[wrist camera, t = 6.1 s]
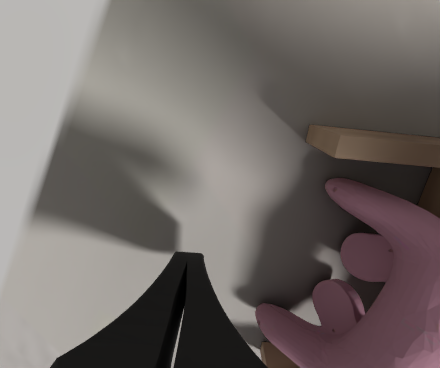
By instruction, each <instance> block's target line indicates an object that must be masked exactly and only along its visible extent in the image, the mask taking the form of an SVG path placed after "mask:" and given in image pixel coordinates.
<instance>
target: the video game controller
mask: <svg viewBox="0 0 440 368" xmlns="http://www.w3.org/2000/svg"><path fill="white" fill-rule="evenodd" d="M325 189H326V191H327V193H328V195H329V196H330V197H331V198H332V199H333V200H334V201H335V202H336V203H337V204H338V205H339V206H340V207H341V208H342V209H344V210H346V211H347V212H349V213H350V214H352V215H353V216H355V217H357V218H358V219H360V220H361V221H363V222H364V223H366V224H368V225H369V226H371V227H372V228H373V229H375V230H376V231H377V232H378V233H379V234H372V233H355V234H351V235H350V236H348V237H347V238H346V239H345V240H344V242H343V244H342V247H341V254H340V255H341V260H342V263H343V265H344V266H345V268H346V269H347V270H348V271H349V272H350V273H351V274H352V275H353V276H355V277H356V278H359V279H362V280H364V281H369V282H386V283H385V285H384V287H383V288H382V290H381V292H380V294H379V295H378V297H377V298H376V300H375V301H374V303H373V304H372V306H371V307H370V309H369V310H368V312H367V313H366V314H365V311H364V307H363V303H362V301H361V299H360V297H359V295H358V293H357V292H356V291H355V290H354V288H353V287H352V286H351V285H349V284H348V283H346V282H344V281H342V280H339V279H332V280H324V281H322V282H320V283H318V284H317V285H316V286H315V288H314V290H313V294H312V298H313V304H314V307H315V310H316V312H317V314H318V316H319V319H320V322H321V325H322V326H316V325H313V324H311V323H309V322H307V321H305V320H303V319H301V318H300V317H298V316H296V315H295V314H293V313H291V312H289V311H288V310H285V309H283V308H281V307H278V306H276V305H273V304H266V303H262V304H260V305H259V306H258V307H257V308H256V311H255V316H256V320H257V323H258V325H259V327H260V329H261V331H262V332H263V334H264V335H265V336H266V338H267V339H268V340H269V341H270V342H271V343H272V344H273V345H275V346H276V347H277V348H278V349H279V350H280V351H281V352H282V353H284V354H285V355H286V356H287V357H288V358H290V359H291V360H292V361H293V362H294V363H296V364H297V365H298V366H299V367H300V368H440V218H438V217H437V216H435V215H433V214H432V213H430V212H428V211H427V210H425V209H423V208H421V207H419V206H417V205H415V204H413V203H411V202H409V201H407V200H404V199H402V198H399V197H397V196H394V195H392V194H389V193H387V192H384V191H381V190H379V189H376V188H373V187H371V186H368V185H365V184H363V183H360V182H357V181H354V180H350V179H346V178H334V179H330V180H328V181H327V182H326V183H325Z"/></svg>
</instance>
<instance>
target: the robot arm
mask: <svg viewBox="0 0 440 368" xmlns="http://www.w3.org/2000/svg"><path fill="white" fill-rule="evenodd" d="M183 309H184V314H183ZM182 314H183V320H182V326H181V331H180V337H179V342H178V348H177V353H176V358H175V363H174V368H268V367H267V366H266V365H265V364H264V363H263V362H262V361H261V360H260V359H259V357H258V356H257V355H256V354H255V353H254V352H253V351H252V349H251V348H250V347H249V346H248V345H247V343H246V342H245V341H244V340H243V338H242V337H241V335H240V334H239V333H238V331H237V330H236V329H235V327H234V326H233V324H232V323H231V321H230V320H229V318H228V317H227V315H226V313H225V312H224V310H223V308H222V306H221V304H220V303H219V301H218V299H217V296H216V294H215V292H214V290H213V288H212V285H211V282H210V280H209V277H208V274H207V271H206V267H205V263H204V256H203V254H202V253H189V252H175V253H174V255H173V257H172V258H171V260H170V261H169V263H168V264H167V266H166V267H165V269H164V270H163V271H162V273H161V274H160V275H159V276H158V278H157V279H156V280H155V281H154V283H153V284H152V285H151V286H150V287H149V288H148V289H147V290H146V292H145V293H144V294H143V295H142V296H141V297H140V298H139V299H138V300H137V301H136V302H135V303H134V304H133V305H132V306H130V307H129V308H128V309H127V310H126V311H125V312H124V313H122V314H121V315H120V316H119V317H118V318H117V319H115V320H114V321H113V322H112V323H110V324H109V325H108V326H106V327H105V328H103V329H102V330H101V331H99V332H98V333H97V334H95V335H94V336H92V337H91V338H89V339H88V340H87V341H85V342H83V343H82V344H80V345H79V346H77V347H75V348H74V349H72V350H70V351H69V352H67V353H65V354H64V355H62V356H60V357H58V358H57V359H56V360H55V362H54V363H53V364H52V366H51V367H50V368H171V362H172V357H173V352H174V348H175V344H176V339H177V335H178V331H179V327H180V322H181V318H182Z"/></svg>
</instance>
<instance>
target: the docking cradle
mask: <svg viewBox="0 0 440 368" xmlns="http://www.w3.org/2000/svg"><path fill="white" fill-rule="evenodd" d="M306 142H307V143H308V144H310V145H312V146H314V147H316V148H318V149H319V150H321V151H323V152H325V153H327V154H328V155H330V156H332V157H334V158H341V159H352V160H362V161H373V162H384V163H394V164H405V165H415V166H426V167H433V168H432V171H431V173H430V175H429V178H428V180H427V183H426V185H425V188H424V190H423V193H422V195H421V197H420V200H419V202H418V205H417V206H419V207H421V208H423V209H425V210H427V211H428V212H430V213H432V214H433V215H435V216H437V217H438V218H440V138H437V137H427V136H417V135H408V134H398V133H388V132H378V131H368V130H358V129H348V128H338V127H328V126H318V125H309V129H308V134H307V138H306ZM260 352H261V358H262V362H263V363H264V364H265V365H266V366H267V367H268V368H300V367H299V366H298V365H297V364H296V363H294V362H293V361H292V360H291V359H290V358H288V357H287V356H286V355H285V354H284V353H282V352H281V351H280V350H279V349H278V348H277V347H276V346H275V345H273V344H272V343H271V342H262V345H261V349H260Z"/></svg>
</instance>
